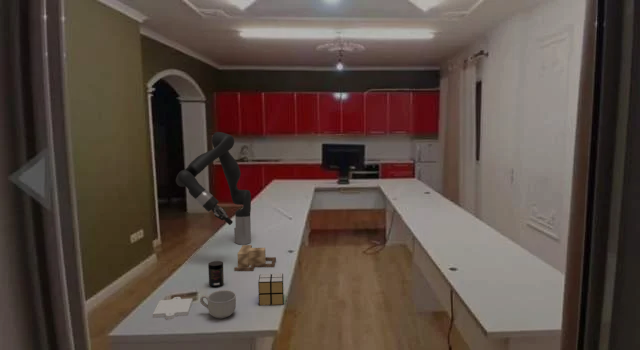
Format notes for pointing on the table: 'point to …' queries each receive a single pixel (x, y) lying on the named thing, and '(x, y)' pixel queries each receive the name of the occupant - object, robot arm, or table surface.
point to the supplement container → (216, 274)
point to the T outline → (257, 265)
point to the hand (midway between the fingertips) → (231, 223)
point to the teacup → (220, 303)
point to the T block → (251, 256)
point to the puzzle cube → (271, 289)
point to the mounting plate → (173, 308)
